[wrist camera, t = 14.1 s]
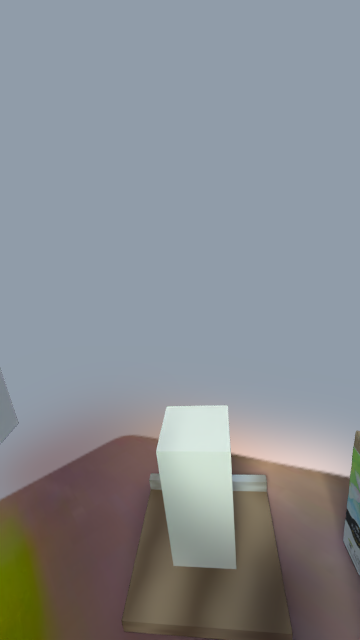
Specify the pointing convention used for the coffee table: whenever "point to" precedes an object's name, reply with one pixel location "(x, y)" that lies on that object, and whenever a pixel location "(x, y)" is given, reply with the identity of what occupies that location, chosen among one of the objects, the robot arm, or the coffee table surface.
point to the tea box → (354, 508)
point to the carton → (198, 485)
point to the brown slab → (211, 577)
